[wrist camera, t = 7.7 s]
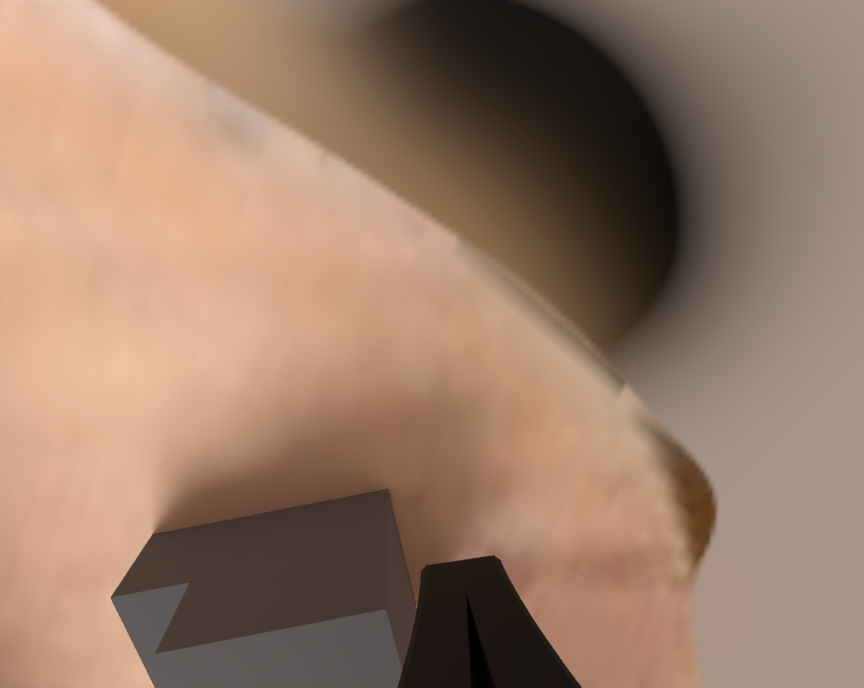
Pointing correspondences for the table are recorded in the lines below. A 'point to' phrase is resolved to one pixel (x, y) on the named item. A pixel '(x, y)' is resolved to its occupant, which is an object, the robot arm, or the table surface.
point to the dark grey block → (274, 600)
